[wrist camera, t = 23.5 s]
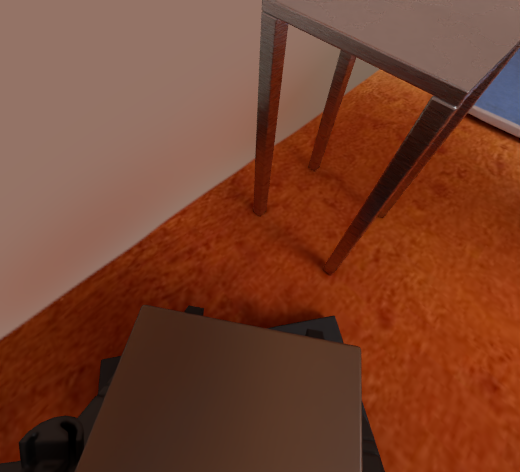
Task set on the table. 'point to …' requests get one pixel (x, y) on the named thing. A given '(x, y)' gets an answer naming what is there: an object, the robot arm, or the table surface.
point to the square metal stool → (395, 63)
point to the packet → (227, 401)
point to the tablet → (502, 99)
